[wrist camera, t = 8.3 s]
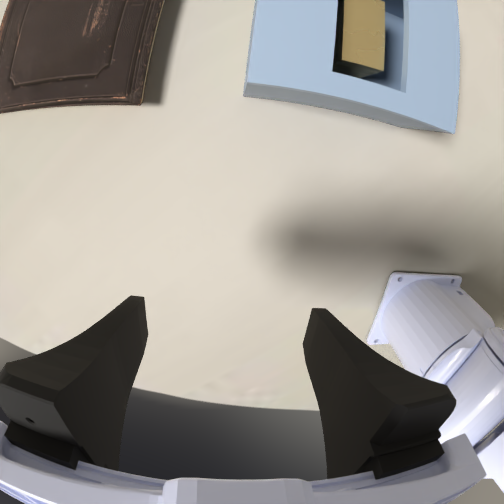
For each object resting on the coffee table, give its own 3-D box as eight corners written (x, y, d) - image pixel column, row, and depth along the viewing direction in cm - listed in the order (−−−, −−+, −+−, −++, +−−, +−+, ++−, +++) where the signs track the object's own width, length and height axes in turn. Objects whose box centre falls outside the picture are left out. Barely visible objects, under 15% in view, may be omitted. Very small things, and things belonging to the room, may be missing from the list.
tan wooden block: (357, 20, 15) (384, 1, 11) (354, 79, 17) (383, 71, 13) (323, 12, 15) (344, -12, 11) (319, 72, 17) (341, 59, 13)
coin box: (408, 17, 15) (456, -3, 9) (401, 127, 19) (454, 134, 13) (258, -23, 14) (268, -69, 8) (243, 96, 18) (247, 82, 12)
